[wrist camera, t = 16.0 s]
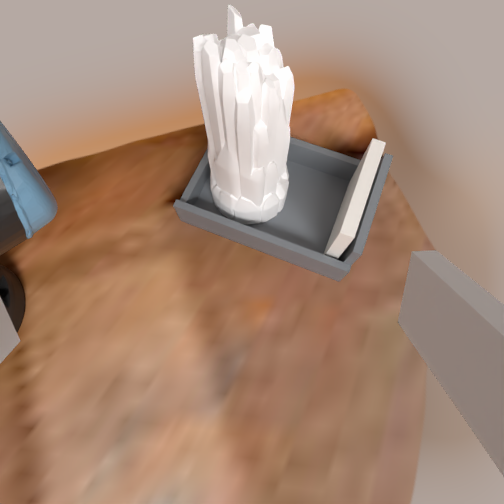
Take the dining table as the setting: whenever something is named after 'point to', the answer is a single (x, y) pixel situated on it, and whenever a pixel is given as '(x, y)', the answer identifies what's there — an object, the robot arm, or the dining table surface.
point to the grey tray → (293, 210)
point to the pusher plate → (354, 201)
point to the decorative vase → (245, 119)
